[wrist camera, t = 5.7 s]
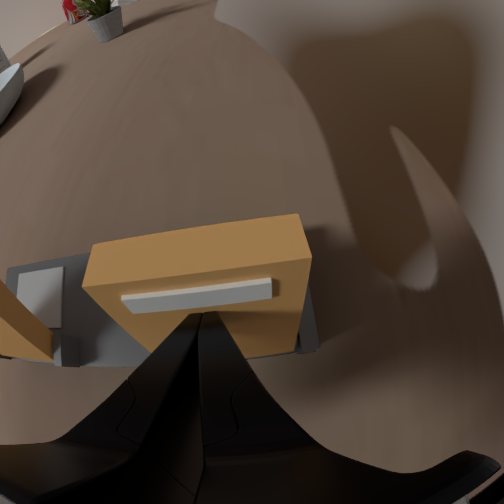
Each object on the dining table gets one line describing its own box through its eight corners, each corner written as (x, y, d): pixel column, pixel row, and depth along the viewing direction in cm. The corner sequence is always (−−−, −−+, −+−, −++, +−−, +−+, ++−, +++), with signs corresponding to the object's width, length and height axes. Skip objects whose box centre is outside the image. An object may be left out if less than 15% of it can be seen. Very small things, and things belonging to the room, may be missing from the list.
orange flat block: (297, 357, 12) (322, 261, 6) (165, 371, 12) (75, 292, 6) (291, 326, 13) (305, 212, 7) (165, 340, 13) (88, 245, 7)
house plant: (145, 14, 39) (131, -41, 24) (156, 27, 34) (139, -43, 19) (86, 40, 37) (65, -13, 22) (83, 58, 33) (56, -7, 17)
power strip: (310, 350, 16) (329, 348, 11) (-20, 353, 15) (-53, 345, 11) (290, 243, 18) (299, 206, 14) (-17, 286, 18) (-48, 271, 13)
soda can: (76, 24, 47) (65, -3, 36) (66, 27, 49) (56, 2, 37) (92, 14, 49) (83, -12, 38) (82, 16, 51) (73, -8, 40)
